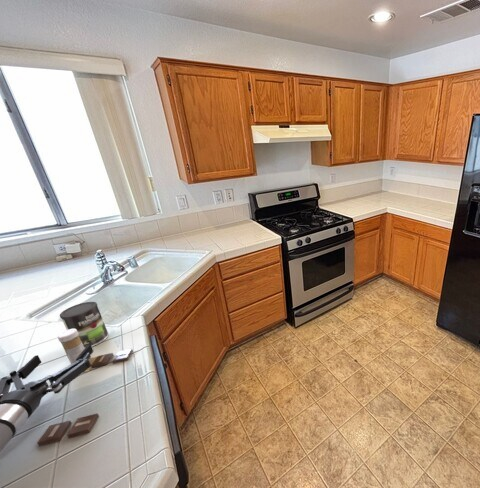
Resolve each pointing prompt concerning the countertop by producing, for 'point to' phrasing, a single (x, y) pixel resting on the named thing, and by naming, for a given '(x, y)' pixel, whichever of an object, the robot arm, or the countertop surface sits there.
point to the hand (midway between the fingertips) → (65, 353)
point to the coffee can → (86, 323)
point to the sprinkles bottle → (71, 344)
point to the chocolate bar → (109, 358)
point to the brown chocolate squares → (59, 430)
